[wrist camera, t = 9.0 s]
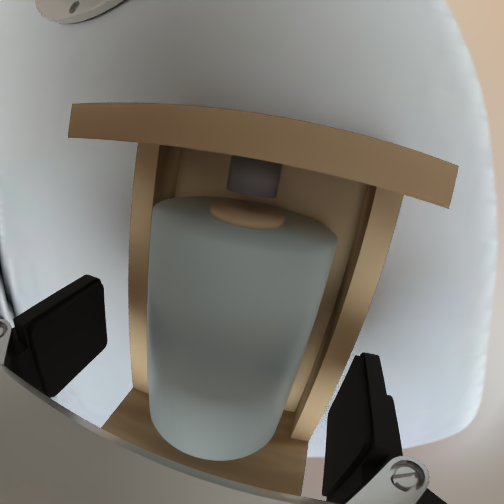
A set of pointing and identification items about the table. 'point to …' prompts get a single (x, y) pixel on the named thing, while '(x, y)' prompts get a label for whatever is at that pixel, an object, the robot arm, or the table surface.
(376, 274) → the cradle
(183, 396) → the roll
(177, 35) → the table surface
